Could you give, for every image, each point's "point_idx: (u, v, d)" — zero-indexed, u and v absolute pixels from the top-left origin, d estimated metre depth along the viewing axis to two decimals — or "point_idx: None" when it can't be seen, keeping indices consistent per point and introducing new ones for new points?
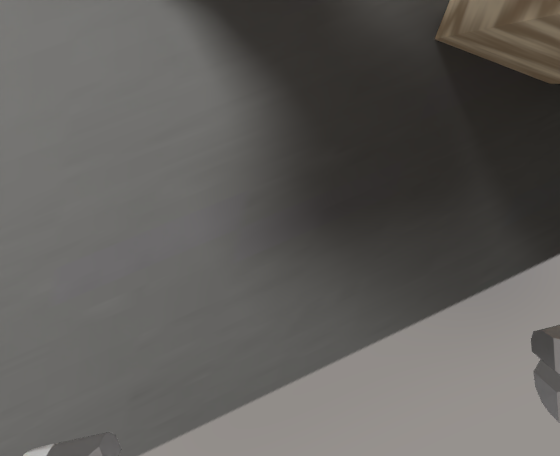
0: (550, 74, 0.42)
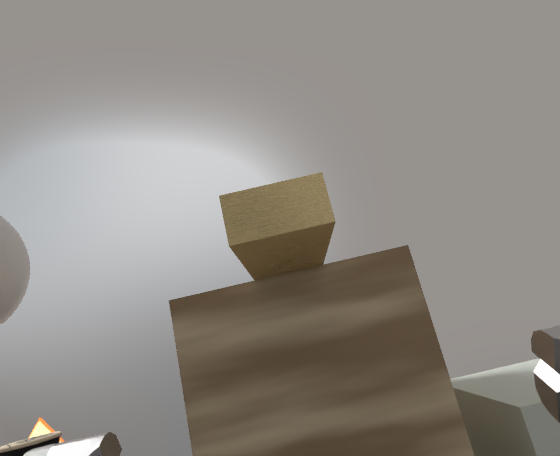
0: None
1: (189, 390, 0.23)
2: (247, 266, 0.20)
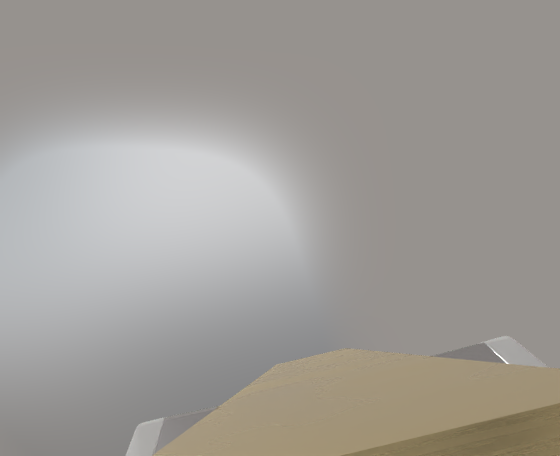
0: None
1: None
2: None
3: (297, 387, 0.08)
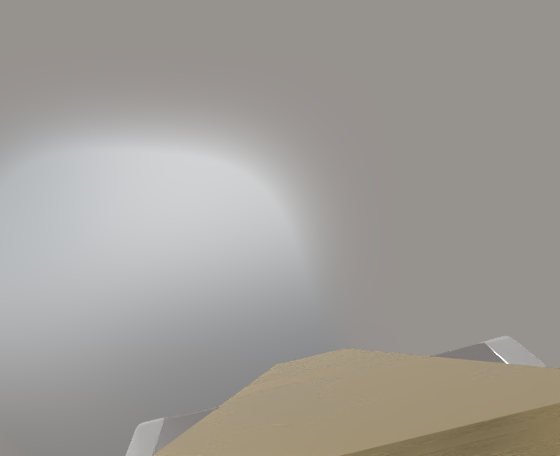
0: None
1: None
2: None
3: (297, 387, 0.08)
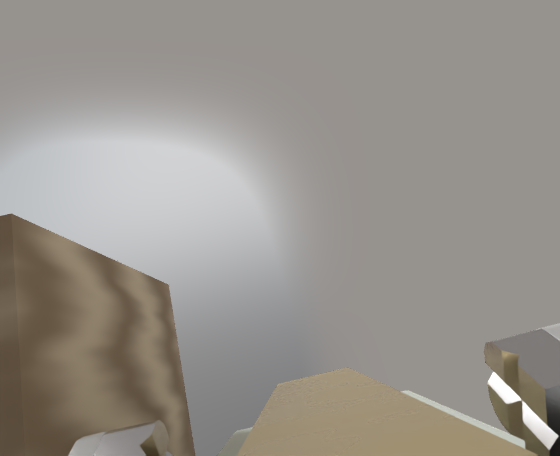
0: None
1: None
2: None
3: (311, 446, 0.08)
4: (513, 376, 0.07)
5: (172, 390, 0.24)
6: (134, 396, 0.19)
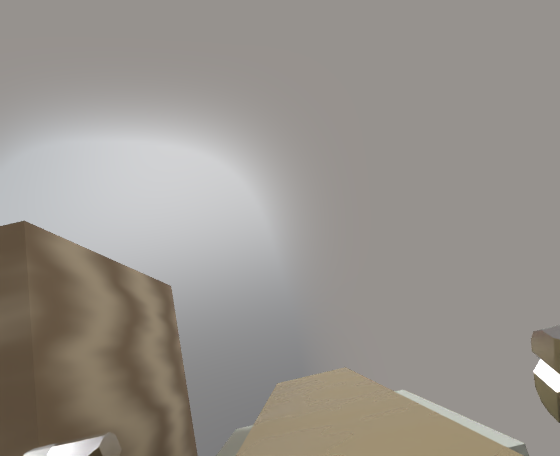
0: None
1: None
2: None
3: (308, 441, 0.08)
4: None
5: (174, 389, 0.25)
6: (139, 395, 0.20)
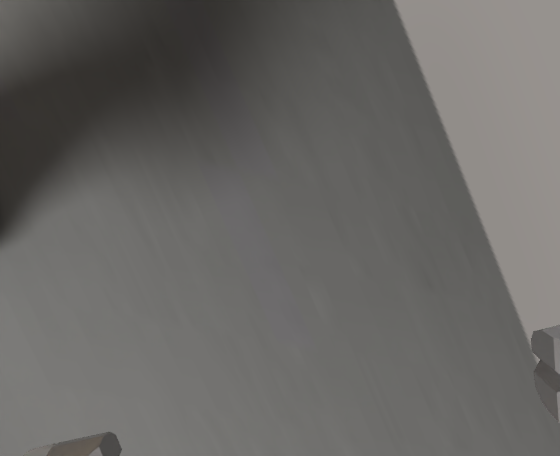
0: None
1: None
2: None
3: None
4: None
5: None
6: None
